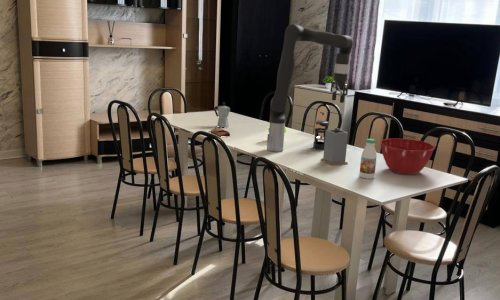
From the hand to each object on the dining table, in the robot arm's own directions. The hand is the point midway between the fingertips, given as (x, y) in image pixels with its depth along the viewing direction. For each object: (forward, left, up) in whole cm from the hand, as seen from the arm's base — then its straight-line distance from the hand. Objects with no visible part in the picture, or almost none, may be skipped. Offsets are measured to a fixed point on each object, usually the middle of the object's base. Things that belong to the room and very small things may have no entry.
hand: (337, 101), depth 287 cm
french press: (+10, +30, -35) cm, 47 cm away
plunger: (-1, -3, -29) cm, 29 cm away
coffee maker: (-30, +104, -35) cm, 113 cm away
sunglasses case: (-41, +79, -35) cm, 96 cm away
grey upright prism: (-1, -3, -34) cm, 34 cm away
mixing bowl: (+28, -28, -35) cm, 53 cm away
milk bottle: (0, -33, -35) cm, 48 cm away
